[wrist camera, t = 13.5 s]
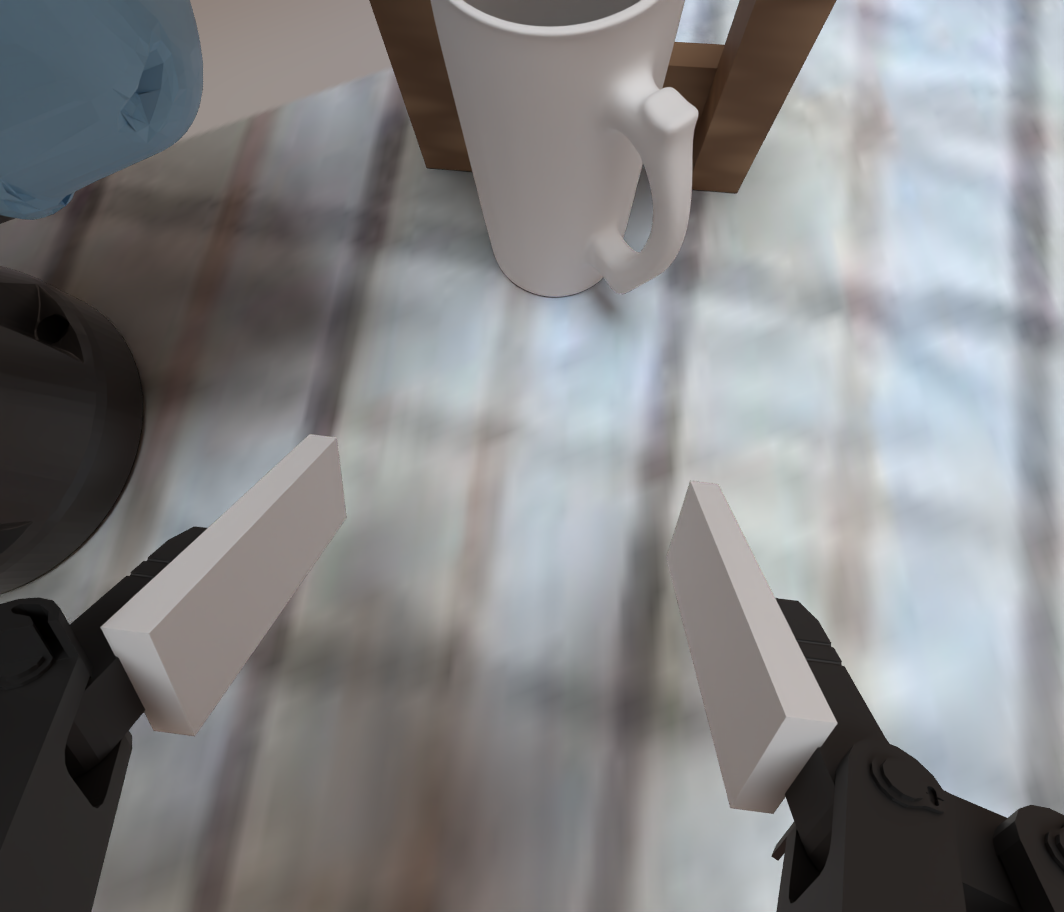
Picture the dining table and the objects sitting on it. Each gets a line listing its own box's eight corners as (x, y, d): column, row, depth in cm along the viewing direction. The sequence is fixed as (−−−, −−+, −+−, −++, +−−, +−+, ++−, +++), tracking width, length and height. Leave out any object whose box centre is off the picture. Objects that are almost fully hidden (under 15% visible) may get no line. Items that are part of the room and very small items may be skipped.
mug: (461, 223, 23) (364, -107, 11) (575, 154, 24) (595, -231, 12) (574, 385, 21) (598, 192, 10) (695, 308, 22) (860, 33, 10)
